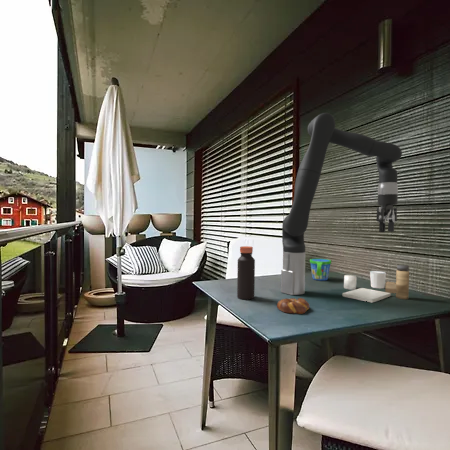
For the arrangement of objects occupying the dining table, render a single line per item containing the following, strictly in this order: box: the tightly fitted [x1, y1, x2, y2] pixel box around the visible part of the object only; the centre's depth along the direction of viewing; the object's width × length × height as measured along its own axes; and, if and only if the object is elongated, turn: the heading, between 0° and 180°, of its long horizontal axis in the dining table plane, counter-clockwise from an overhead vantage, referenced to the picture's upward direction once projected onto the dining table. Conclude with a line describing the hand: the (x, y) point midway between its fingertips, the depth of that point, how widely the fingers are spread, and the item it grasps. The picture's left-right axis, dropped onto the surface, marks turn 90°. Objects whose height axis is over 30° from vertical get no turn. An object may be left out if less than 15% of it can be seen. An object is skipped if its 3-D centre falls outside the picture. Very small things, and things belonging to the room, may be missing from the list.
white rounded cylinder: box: [343, 274, 358, 291], centre depth 138 cm, size 5×5×6 cm
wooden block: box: [384, 281, 396, 294], centre depth 132 cm, size 4×4×4 cm
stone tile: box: [341, 287, 392, 304], centre depth 124 cm, size 16×12×1 cm
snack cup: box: [309, 258, 332, 282], centre depth 157 cm, size 16×10×10 cm
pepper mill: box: [395, 264, 410, 300], centre depth 122 cm, size 4×4×13 cm
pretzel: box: [276, 297, 310, 315], centre depth 106 cm, size 12×11×4 cm
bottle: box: [236, 245, 256, 301], centre depth 120 cm, size 7×7×20 cm
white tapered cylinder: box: [369, 270, 387, 289], centre depth 141 cm, size 7×7×7 cm
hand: (386, 231), depth 130 cm, fingers open, 8 cm apart
